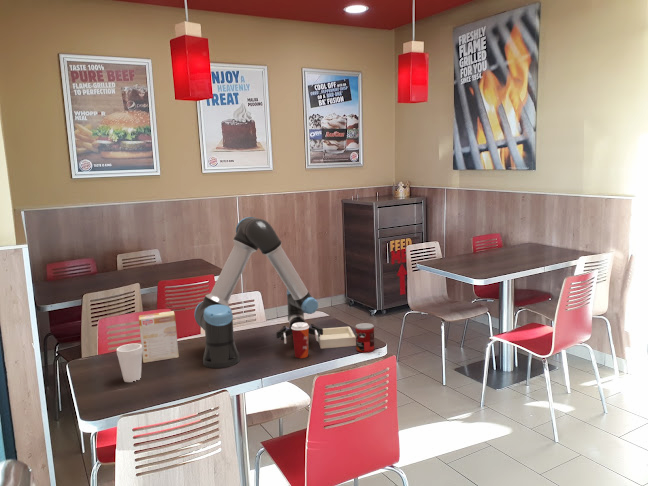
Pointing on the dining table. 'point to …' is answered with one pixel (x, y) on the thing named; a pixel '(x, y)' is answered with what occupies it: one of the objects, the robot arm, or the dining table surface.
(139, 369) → the foam cup
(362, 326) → the canned food
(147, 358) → the coffeecake box
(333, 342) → the tray
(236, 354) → the robot arm
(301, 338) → the paper cup
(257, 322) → the dining table surface
